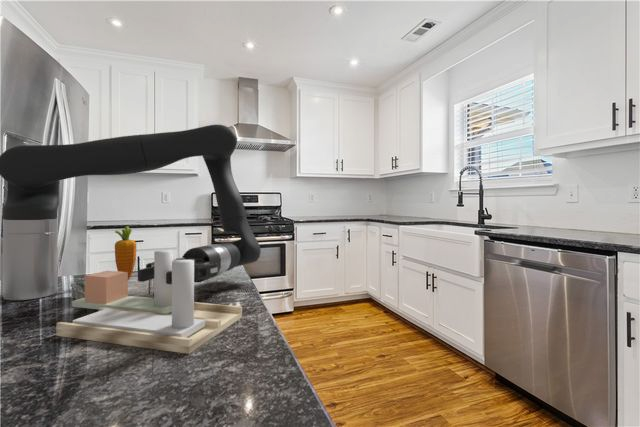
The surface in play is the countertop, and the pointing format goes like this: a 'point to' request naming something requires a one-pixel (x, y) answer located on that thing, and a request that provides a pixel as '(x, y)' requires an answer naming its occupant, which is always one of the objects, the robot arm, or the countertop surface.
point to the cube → (106, 286)
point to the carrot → (125, 252)
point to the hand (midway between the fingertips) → (153, 277)
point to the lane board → (214, 319)
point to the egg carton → (78, 290)
